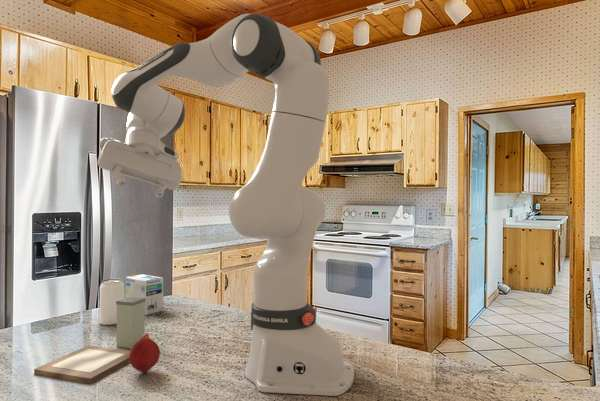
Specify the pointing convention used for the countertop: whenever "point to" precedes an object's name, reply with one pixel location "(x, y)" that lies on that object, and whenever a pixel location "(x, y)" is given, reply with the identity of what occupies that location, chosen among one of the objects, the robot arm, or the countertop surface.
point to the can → (110, 300)
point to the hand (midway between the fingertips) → (140, 190)
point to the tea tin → (130, 321)
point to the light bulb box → (146, 291)
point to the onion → (144, 354)
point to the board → (85, 364)
